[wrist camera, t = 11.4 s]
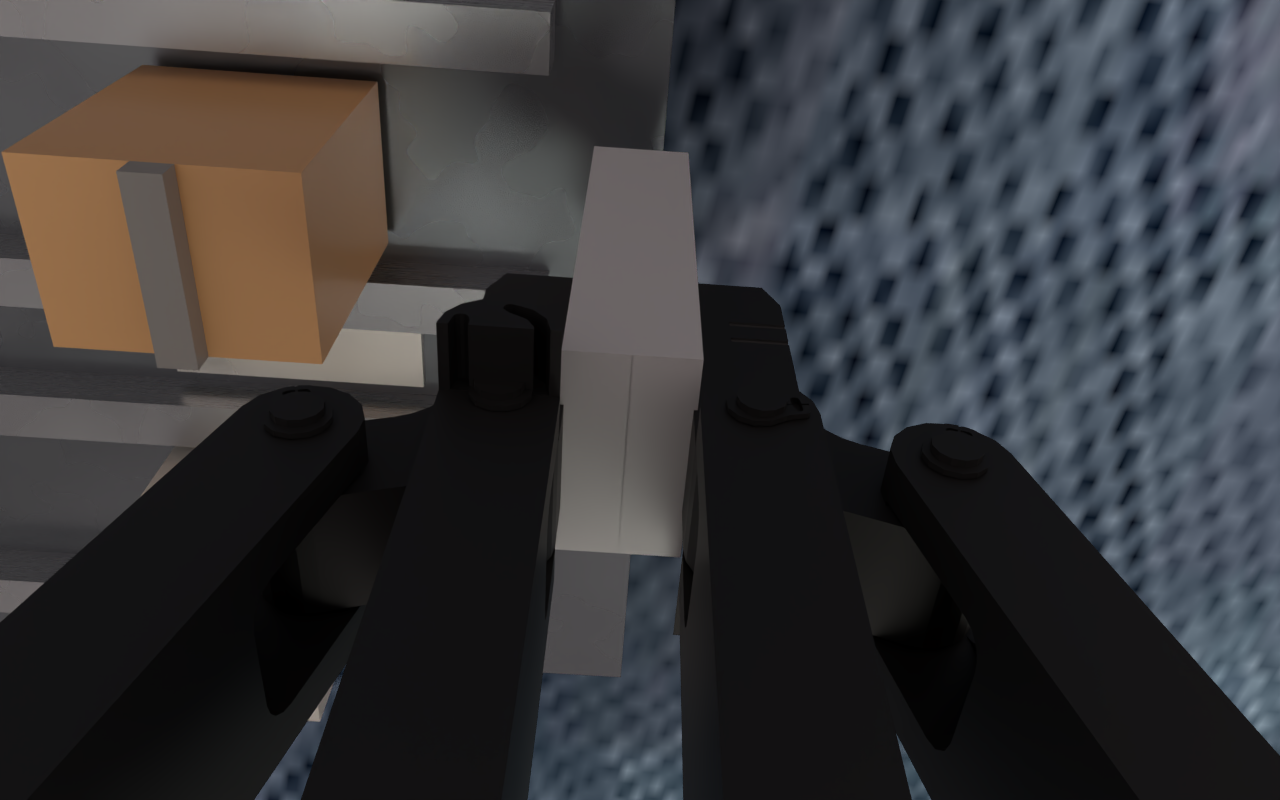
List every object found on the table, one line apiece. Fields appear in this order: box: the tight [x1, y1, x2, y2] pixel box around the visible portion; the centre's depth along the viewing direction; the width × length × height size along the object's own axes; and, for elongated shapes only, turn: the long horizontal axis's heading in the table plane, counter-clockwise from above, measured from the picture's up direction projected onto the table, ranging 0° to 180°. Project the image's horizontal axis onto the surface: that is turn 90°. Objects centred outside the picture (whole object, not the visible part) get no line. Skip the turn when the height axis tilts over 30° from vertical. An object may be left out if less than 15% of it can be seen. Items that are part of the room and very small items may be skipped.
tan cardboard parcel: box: [1, 65, 388, 370], centre depth 16 cm, size 4×3×5 cm
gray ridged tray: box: [0, 0, 675, 677], centre depth 21 cm, size 24×18×3 cm
